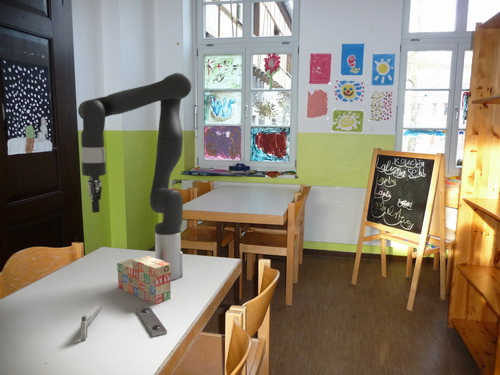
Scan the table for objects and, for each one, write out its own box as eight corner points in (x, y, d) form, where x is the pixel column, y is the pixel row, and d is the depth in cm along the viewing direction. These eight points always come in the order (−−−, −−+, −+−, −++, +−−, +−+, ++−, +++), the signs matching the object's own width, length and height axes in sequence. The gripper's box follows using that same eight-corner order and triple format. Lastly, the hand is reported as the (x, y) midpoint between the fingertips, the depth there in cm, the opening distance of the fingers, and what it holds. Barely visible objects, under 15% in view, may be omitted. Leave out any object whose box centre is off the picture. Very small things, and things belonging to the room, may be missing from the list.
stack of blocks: (117, 288, 143) (116, 254, 141) (133, 283, 147) (132, 250, 146) (155, 305, 129) (155, 267, 127) (171, 299, 134) (170, 262, 132)
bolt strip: (149, 308, 126) (148, 305, 126) (167, 333, 111) (166, 330, 111) (136, 310, 125) (135, 307, 124) (152, 336, 109) (152, 333, 109)
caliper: (85, 341, 107) (84, 318, 106) (81, 341, 107) (80, 319, 106) (101, 308, 127) (100, 289, 126) (97, 308, 127) (96, 289, 126)
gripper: (109, 162, 132) (110, 214, 134) (101, 159, 143) (103, 207, 146) (84, 162, 128) (86, 216, 131) (79, 159, 140) (81, 209, 142)
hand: (95, 212), depth 138 cm, fingers closed
